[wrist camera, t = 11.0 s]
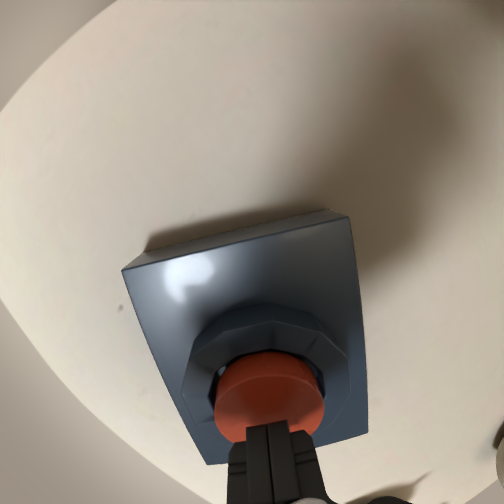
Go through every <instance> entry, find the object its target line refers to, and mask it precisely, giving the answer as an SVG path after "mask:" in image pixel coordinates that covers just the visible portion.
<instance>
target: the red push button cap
mask: <svg viewBox="0 0 504 504" xmlns="http://www.w3.org/2000/svg"><path fill="white" fill-rule="evenodd" d="M323 415H324V402H323V398H322V395H321V392H320V389H319V386H318V383H317V380H316V378H315V375H314V373H313V371H312V370H311V368H310V367H309V366H308V365H307V364H306V363H305V362H303V361H302V360H300V359H299V358H297V357H295V356H292V355H290V354H286V353H282V352H273V351H267V352H258V353H254V354H250V355H247V356H244V357H242V358H240V359H238V360H237V361H235V362H234V363H232V364H231V365H230V366H229V367H228V368H227V369H226V370H225V371H224V372H223V373H222V375H221V377H220V379H219V381H218V385H217V391H216V399H215V408H214V419H215V423H216V426H217V427H218V429H219V431H220V432H221V434H222V435H223V436H224V437H225V438H226V439H228V440H229V441H231V442H232V443H234V442H240V441H246V427H250V426H256V425H261V424H267V423H271V422H276V421H281V420H286V419H287V421H288V425H289V429H290V432H294V431H299V430H303V429H304V430H305V431H306V432H307V433H308V434H309V435H311V434H312V433H313V432H314V431H315V430H316V429H317V428H318V426H319V425H320V423H321V421H322V418H323Z"/></svg>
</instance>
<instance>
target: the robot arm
mask: <svg viewBox="0 0 504 504" xmlns="http://www.w3.org/2000/svg"><path fill="white" fill-rule="evenodd" d="M228 466H229V467H228V482H227V504H337V503H335V502H334V501H332V500H331V499H330V498H329V497H328V495H327V493H326V491H325V486H324V482H323V478H322V474H321V470H320V466H319V462H318V459H317V454H316V451H315V446H314V443H313V439H312V437H311V436H310V435H309V434H308V433H307V432H306V431H305V430H304V429H303V430H299V431H294V432H290V429H289V425H288V421H287V419H286V420H281V421H276V422H271V423H267V424H261V425H256V426H250V427H246V441H240V442H234V444H233V446H232V448H231V450H230V451H229V455H228ZM368 504H412V503H409V502H407V501H404V500H402V499H399V498H396V497H392V496H384V497H379V498H376V499H374V500H372V501H370V502H369V503H368Z"/></svg>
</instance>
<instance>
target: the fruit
mask: <svg viewBox="0 0 504 504" xmlns="http://www.w3.org/2000/svg"><path fill="white" fill-rule="evenodd" d="M496 469H497V475H498V479H499V481H500V483H501V485H502V487H503V488H504V437H503V439H502V440H501V443H500V445H499V448H498V451H497V456H496Z"/></svg>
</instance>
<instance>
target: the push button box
mask: <svg viewBox="0 0 504 504" xmlns="http://www.w3.org/2000/svg"><path fill="white" fill-rule="evenodd" d="M121 272H122V275H123V278H124V281H125V284H126V287H127V290H128V293H129V295H130V298H131V301H132V304H133V307H134V309H135V312H136V315H137V317H138V320H139V323H140V325H141V328H142V330H143V333H144V336H145V338H146V340H147V343H148V345H149V348H150V350H151V353H152V355H153V357H154V360H155V362H156V364H157V367H158V369H159V371H160V374H161V376H162V378H163V380H164V382H165V385H166V387H167V389H168V391H169V393H170V395H171V397H172V400H173V402H174V404H175V406H176V408H177V410H178V412H179V414H180V416H181V418H182V420H183V422H184V424H185V426H186V428H187V430H188V432H189V433H190V435H191V437H192V439H193V441H194V443H195V445H196V446H197V448H198V450H199V452H200V454H201V455H202V457H203V459H204V461H205V462H206V464H207V465H215V464H225V463H228V455H229V451H230V450H231V448H232V446H233V444H234V443H232V442H231V441H229V440H228V439H226V438H225V437H224V436H223V435H222V434H221V432H220V431H219V429H218V427H217V426H216V423H215V419H214V408H215V399H216V391H217V385H218V381H219V379H220V377H221V375H222V373H223V372H224V371H225V370H226V369H227V368H228V367H229V366H230V365H231V364H232V363H234V362H235V361H237V360H238V359H240V358H242V357H244V356H247V355H250V354H254V353H258V352H267V351H273V352H282V353H286V354H290V355H292V356H295V357H297V358H299V359H300V360H302V361H303V362H305V363H306V364H307V365H308V366H309V367H310V368H311V370H312V371H313V373H314V375H315V378H316V380H317V383H318V386H319V389H320V392H321V395H322V398H323V402H324V415H323V418H322V421H321V423H320V425H319V426H318V428H317V429H316V430H315V431H314V432H313V433H312V434H311V435H310V436H311V437H312V439H313V443H314V446H315V448H317V447H321V446H325V445H328V444H332V443H336V442H339V441H343V440H346V439H350V438H353V437H357V436H360V435H363V434H366V433H368V392H367V369H366V353H365V339H364V327H363V316H362V306H361V297H360V288H359V280H358V272H357V265H356V257H355V250H354V244H353V237H352V231H351V225H350V219H349V217H348V216H346V215H343V214H341V213H338V212H336V211H333V210H330V209H326V210H321V211H317V212H312V213H308V214H303V215H299V216H294V217H290V218H285V219H281V220H277V221H272V222H268V223H264V224H259V225H255V226H251V227H246V228H242V229H238V230H234V231H229V232H225V233H221V234H217V235H213V236H209V237H204V238H200V239H196V240H192V241H188V242H184V243H180V244H176V245H172V246H168V247H164V248H160V249H156V250H152V251H148V252H144V253H142V254H141V255H140V256H138V257H137V258H136V259H134V260H133V261H132V262H131V263H129V264H128V265H127V266H126V267H124V268H123V269H122V270H121Z"/></svg>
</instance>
